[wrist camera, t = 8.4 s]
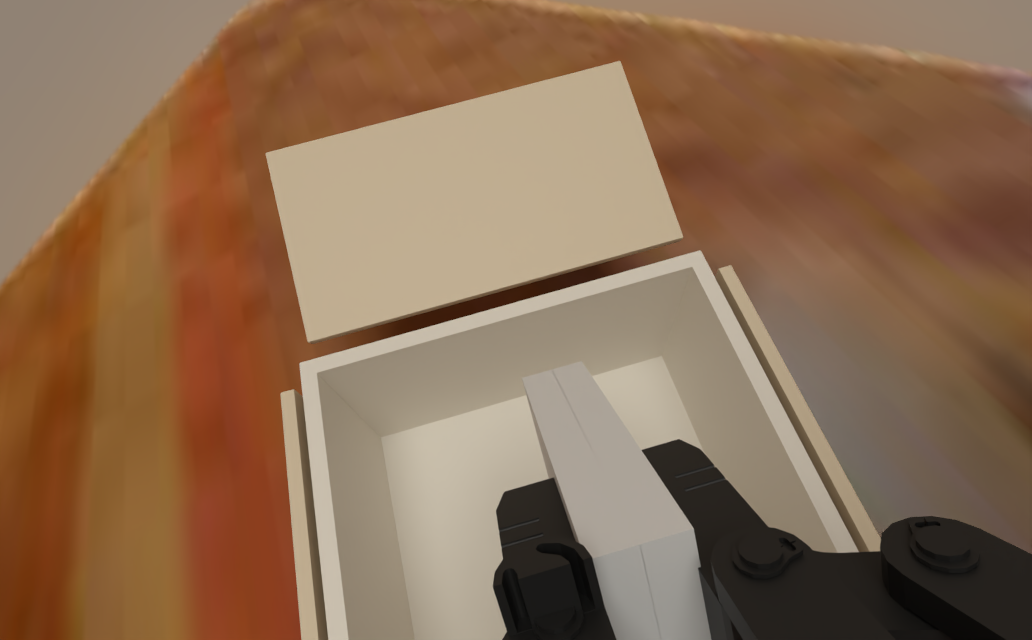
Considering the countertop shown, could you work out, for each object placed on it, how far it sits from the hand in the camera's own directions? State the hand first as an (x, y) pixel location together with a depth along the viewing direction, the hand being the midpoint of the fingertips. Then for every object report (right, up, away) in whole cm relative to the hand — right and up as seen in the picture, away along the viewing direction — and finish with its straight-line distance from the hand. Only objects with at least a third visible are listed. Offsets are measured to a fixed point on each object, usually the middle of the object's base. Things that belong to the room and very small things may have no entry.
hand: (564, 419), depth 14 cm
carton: (+1, -7, +13) cm, 15 cm away
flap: (-2, +3, +8) cm, 9 cm away
